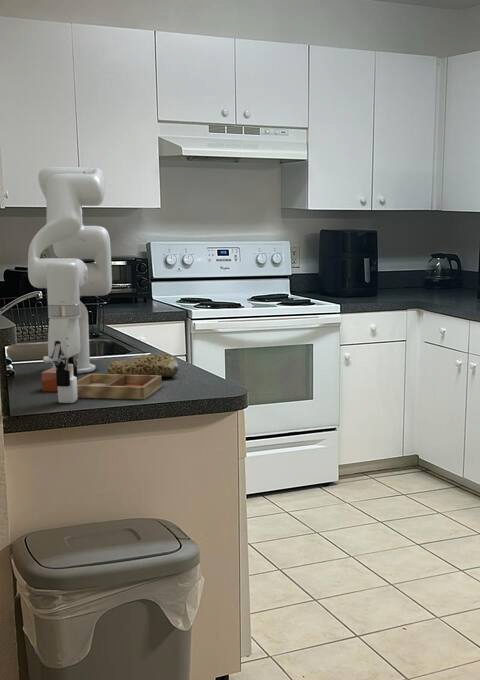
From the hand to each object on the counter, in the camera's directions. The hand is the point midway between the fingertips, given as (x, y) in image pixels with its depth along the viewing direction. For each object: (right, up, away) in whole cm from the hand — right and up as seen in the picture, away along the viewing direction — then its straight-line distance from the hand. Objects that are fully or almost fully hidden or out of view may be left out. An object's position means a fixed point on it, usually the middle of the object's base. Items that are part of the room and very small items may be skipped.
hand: (67, 383), depth 225 cm
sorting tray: (+9, -3, +13) cm, 16 cm away
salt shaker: (0, -5, +1) cm, 5 cm away
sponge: (+12, 0, +30) cm, 32 cm away
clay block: (-8, -2, +15) cm, 17 cm away
